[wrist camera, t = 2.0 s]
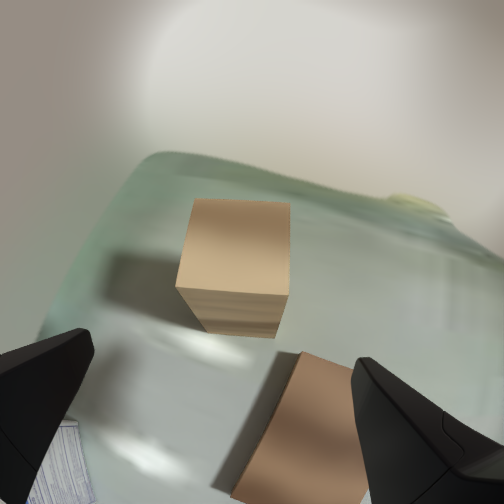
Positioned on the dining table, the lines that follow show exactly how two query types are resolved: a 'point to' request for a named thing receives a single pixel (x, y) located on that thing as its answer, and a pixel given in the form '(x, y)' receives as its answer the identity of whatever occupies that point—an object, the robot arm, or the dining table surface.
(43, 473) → the medicine box
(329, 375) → the walnut slab
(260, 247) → the oak pillar
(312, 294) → the dining table surface
